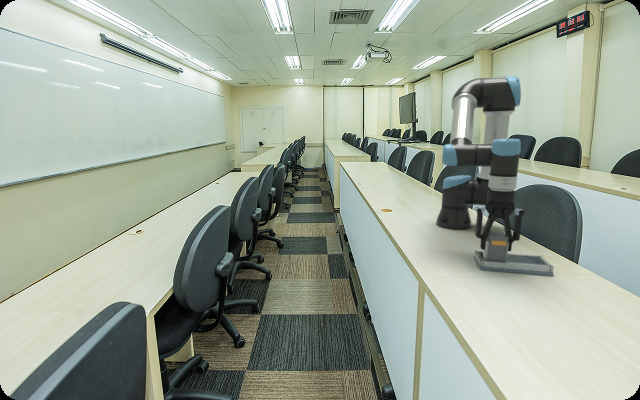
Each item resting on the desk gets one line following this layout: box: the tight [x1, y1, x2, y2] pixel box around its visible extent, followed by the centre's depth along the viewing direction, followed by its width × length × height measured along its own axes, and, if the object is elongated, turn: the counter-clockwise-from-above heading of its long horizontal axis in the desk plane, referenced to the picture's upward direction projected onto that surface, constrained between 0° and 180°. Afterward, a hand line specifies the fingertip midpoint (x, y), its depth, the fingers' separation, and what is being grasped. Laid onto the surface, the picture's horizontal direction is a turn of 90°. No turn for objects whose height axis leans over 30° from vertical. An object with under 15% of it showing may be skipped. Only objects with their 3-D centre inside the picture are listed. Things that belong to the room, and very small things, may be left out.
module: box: [486, 230, 509, 262], centre depth 103 cm, size 6×5×9 cm
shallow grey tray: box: [473, 250, 555, 277], centre depth 103 cm, size 10×20×3 cm, turn 75°
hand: (494, 259), depth 104 cm, fingers closed on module, 5 cm apart
